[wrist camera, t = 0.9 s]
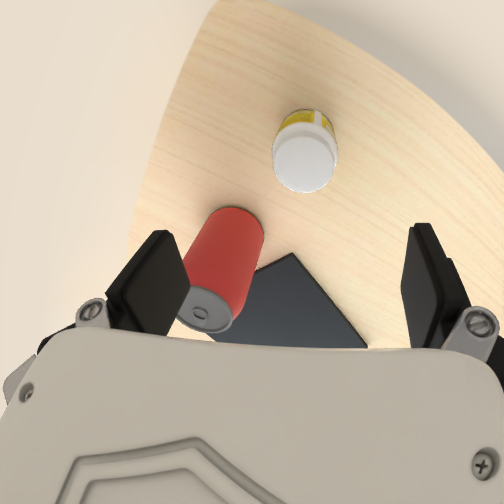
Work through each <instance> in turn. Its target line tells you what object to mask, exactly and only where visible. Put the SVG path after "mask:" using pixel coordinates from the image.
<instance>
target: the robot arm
mask: <svg viewBox="0 0 504 504" xmlns="http://www.w3.org/2000/svg"><path fill="white" fill-rule="evenodd" d="M190 286H191V285H190V280H189V278H188V275H187V272H186V270H185V267H184V264H183V261H182V259H181V256H180V253H179V250H178V247H177V244H176V242H175V239H174V236H173V234H172V233H170V232H169V231H168V230H155V231H153V232H152V234H151V235H150V236H149V237H148V238H147V240H146V241H145V242H144V243H143V245H142V246H141V247H140V248H139V249H138V251H137V252H136V253H135V254H134V256H133V257H132V258H131V260H130V261H129V262H128V263H127V265H126V266H125V267H124V269H123V270H122V271H121V272H120V274H119V275H118V276H117V278H116V279H115V280H114V281H113V283H112V284H111V285H110V287H109V288H108V290H107V291H106V292H105V294H106V296H107V298H108V299H107V301H106V302H105V300H103V299H102V298H94V299H91V300H89V301H87V302H85V303H84V304H83V305H82V306H81V307H80V308H79V309H78V311H77V313H76V323H74V324H72V325H70V326H68V327H66V328H64V329H62V330H60V331H58V332H56V333H54V334H52V335H51V336H49V337H46V338H45V339H43V340H42V342H41V344H40V345H39V348H38V351H37V356H36V355H35V354H34V355H33V356H31V357H30V358H29V359H28V360H27V361H25V362H24V363H23V364H22V365H21V366H19V367H18V368H17V369H16V370H15V371H14V372H12V373H11V374H10V375H9V376H8V377H7V378H6V380H5V382H4V385H3V392H4V395H5V399H6V402H7V408H6V410H5V412H4V414H3V416H2V418H1V420H0V504H504V338H502V337H501V336H499V335H498V334H499V329H500V327H499V322H498V320H497V318H496V316H495V315H494V314H493V313H492V312H491V311H489V310H488V309H486V308H483V307H480V306H471V303H470V301H469V298H468V296H467V293H466V291H465V288H464V286H463V284H462V281H461V279H460V277H459V274H458V272H457V270H456V268H455V265H454V263H453V261H452V260H451V258H447V257H446V255H445V253H444V251H443V248H442V246H441V244H440V242H439V240H438V238H437V236H436V234H435V232H434V230H433V228H432V226H431V224H430V223H415V225H414V227H410V229H409V236H408V243H407V250H406V257H405V263H404V269H403V274H402V280H401V295H402V299H403V304H404V309H405V314H406V320H407V325H408V331H409V337H410V343H411V348H371V349H366V348H301V347H279V346H262V345H247V344H234V343H223V342H212V341H202V340H193V339H184V338H176V337H168V336H167V334H168V332H169V330H170V328H171V326H172V324H173V322H174V320H175V318H176V316H177V314H178V312H179V310H180V308H181V306H182V304H183V302H184V300H185V298H186V297H187V295H188V293H189V291H190Z"/></svg>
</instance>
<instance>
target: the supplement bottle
mask: <svg viewBox="0 0 504 504" xmlns="http://www.w3.org/2000/svg"><path fill="white" fill-rule="evenodd" d="M272 157H273V168H274V172H275V175H276V177H277V178H278V180H279V181H280V182H281V183H282V184H283V185H284V186H285V187H287V188H288V189H290V190H293V191H295V192H300V193H310V192H314V191H317V190H319V189H321V188H322V187H324V186H325V185H326V184H327V183H328V182H329V181H330V179H331V177H332V175H333V171H334V168H335V166H336V164H337V160H338V147H337V143H336V138H335V134H334V129H333V126H332V124H331V122H330V120H329V119H328V118H327V117H326V116H325V115H324V114H322V113H321V112H319V111H317V110H314V109H308V108H304V109H298V110H295V111H293V112H292V113H290V114H289V115H288V116H287V117H286V118H285V119H284V121H283V123H282V125H281V127H280V129H279V131H278V133H277V135H276V137H275V140H274V142H273V146H272Z"/></svg>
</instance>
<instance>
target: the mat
mask: <svg viewBox="0 0 504 504" xmlns="http://www.w3.org/2000/svg"><path fill="white" fill-rule="evenodd" d="M206 334H207V335H209V336H210V337H211V338H212V339H213V340H215V341H216V342H223V343H234V344H247V345H262V346H279V347H301V348H366V349H368V346H367V344H366V343H365V342H364V341H363V339H362V338H361V337H360V335H359V334H358V333H357V332H356V330H355V329H354V328H353V327H352V325H351V324H350V323H349V322H348V320H347V319H346V318H345V317H344V315H343V314H342V313H341V312H340V310H339V309H338V308H337V307H336V305H335V304H334V303H333V302H332V300H331V299H330V298H329V297H328V295H327V294H326V293H325V292H324V290H323V289H322V288H321V287H320V286H319V284H318V283H317V282H316V281H315V279H314V278H313V277H312V276H311V275H310V273H309V272H308V271H307V270H306V269H305V267H304V266H303V265H302V264H301V262H300V261H299V260H298V259H297V258H296V256H295V255H294V254H293V253H291V254H289V255H287V256H285V257H283V258H281V259H279V260H277V261H275V262H273V263H271V264H269V265H267V266H265V267H263V268H261V269H259V270H257V271H255V272H254V274H253V278H252V281H251V284H250V288H249V291H248V294H247V297H246V301H245V304H244V306H243V308H242V310H241V312H240V314H239V315H238V316H237V317H236V318H235V319H234V320H233V321H232V324H231V326H230V327H229V328H228V329H227V330H225V331H223V332H219V333H206Z"/></svg>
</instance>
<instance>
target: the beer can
mask: <svg viewBox="0 0 504 504" xmlns="http://www.w3.org/2000/svg"><path fill="white" fill-rule="evenodd" d="M263 242H264V233H263V230H262V227H261V225H260V223H259V222H258V221H257V220H256V218H255V217H254V216H252V215H251V214H250V213H248V212H247V211H244V210H241V209H239V208H230V207H227V208H223V209H219V210H217V211H215V212H214V213H212V214H211V215H210V216H209V218H208V219H207V221H206V222H205V224H204V226H203V227H202V229H201V230H200V232H199V234H198V235H197V237H196V239H195V240H194V242H193V244H192V245H191V247H190V249H189V250H188V252H187V254H186V255H185V257H184V259H183V260H182V261H183V264H184V267H185V270H186V272H187V275H188V278H189V280H190V285H191V286H190V291H189V293H188V295H187V297H186V298H185V300H184V302H183V304H182V306H181V308H180V310H179V312H178V314H177V316H176V318H177V319H178V320H179V321H180V322H181V323H182V324H184V325H186V326H187V327H189V328H191V329H193V330H196V331H199V332H203V333H219V332H223V331H225V330H227V329H228V328H229V327H230V326H231V324H232V321H233V320H234V319H235V318H236V317H237V316H238V315H239V314H240V312H241V310H242V308H243V306H244V304H245V301H246V297H247V294H248V291H249V288H250V284H251V281H252V278H253V274H254V271H255V268H256V265H257V261H258V258H259V255H260V251H261V248H262V245H263Z"/></svg>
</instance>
